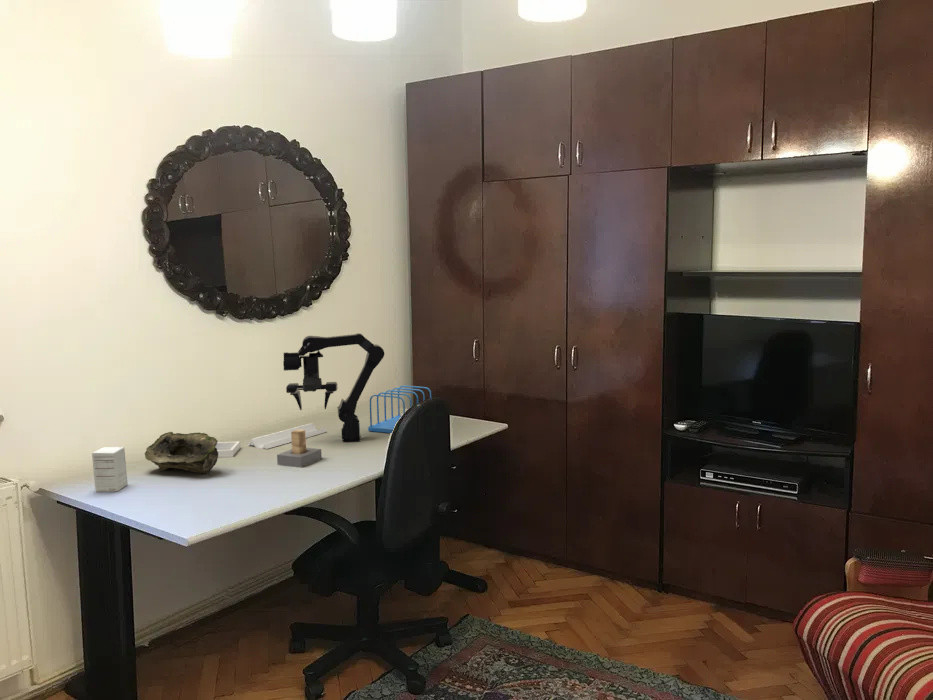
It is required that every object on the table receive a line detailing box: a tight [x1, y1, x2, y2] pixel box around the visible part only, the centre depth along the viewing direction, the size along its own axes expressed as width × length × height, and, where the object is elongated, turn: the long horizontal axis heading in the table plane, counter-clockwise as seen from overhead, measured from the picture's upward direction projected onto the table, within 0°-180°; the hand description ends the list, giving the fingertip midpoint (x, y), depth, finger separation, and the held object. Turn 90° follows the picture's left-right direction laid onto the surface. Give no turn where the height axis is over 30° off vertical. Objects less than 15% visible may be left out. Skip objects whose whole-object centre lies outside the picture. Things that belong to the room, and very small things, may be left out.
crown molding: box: [246, 422, 327, 450], centre depth 313 cm, size 31×12×4 cm, turn 145°
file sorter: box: [367, 385, 432, 434], centre depth 329 cm, size 25×17×15 cm
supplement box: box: [91, 446, 129, 493], centre depth 252 cm, size 7×7×13 cm
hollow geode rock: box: [144, 431, 219, 475], centre depth 271 cm, size 28×13×15 cm
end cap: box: [276, 447, 323, 468], centre depth 279 cm, size 12×10×4 cm
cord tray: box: [215, 441, 241, 458], centre depth 294 cm, size 13×13×2 cm
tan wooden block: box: [291, 429, 307, 454], centre depth 278 cm, size 4×3×10 cm
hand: (313, 409), depth 304 cm, fingers open, 9 cm apart
